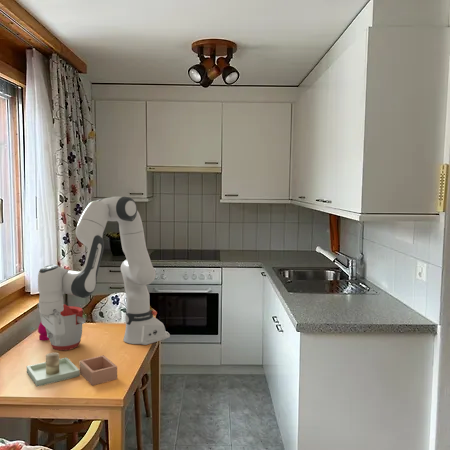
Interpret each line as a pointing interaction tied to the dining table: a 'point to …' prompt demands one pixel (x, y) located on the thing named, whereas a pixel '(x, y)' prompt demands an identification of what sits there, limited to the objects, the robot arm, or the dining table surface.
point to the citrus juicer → (70, 328)
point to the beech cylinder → (52, 363)
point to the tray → (41, 378)
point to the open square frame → (99, 375)
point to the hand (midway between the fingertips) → (53, 341)
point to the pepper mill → (42, 332)
